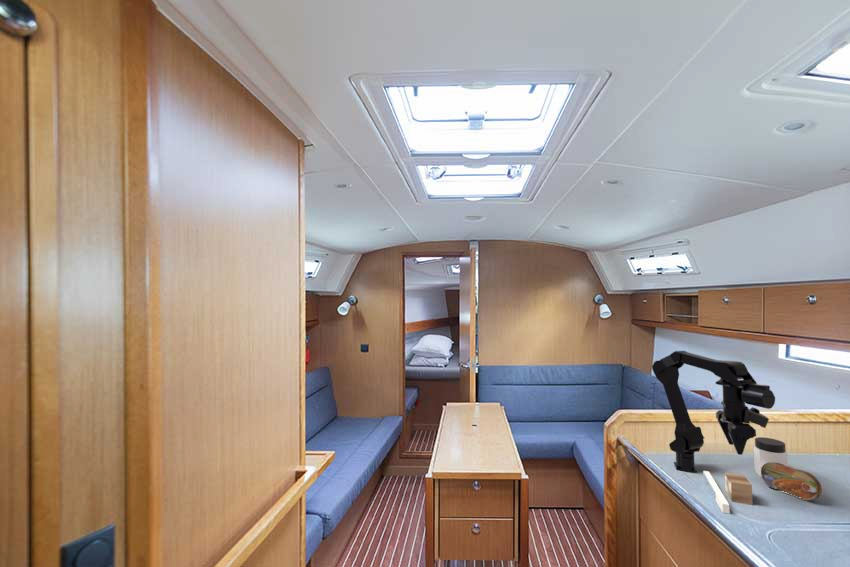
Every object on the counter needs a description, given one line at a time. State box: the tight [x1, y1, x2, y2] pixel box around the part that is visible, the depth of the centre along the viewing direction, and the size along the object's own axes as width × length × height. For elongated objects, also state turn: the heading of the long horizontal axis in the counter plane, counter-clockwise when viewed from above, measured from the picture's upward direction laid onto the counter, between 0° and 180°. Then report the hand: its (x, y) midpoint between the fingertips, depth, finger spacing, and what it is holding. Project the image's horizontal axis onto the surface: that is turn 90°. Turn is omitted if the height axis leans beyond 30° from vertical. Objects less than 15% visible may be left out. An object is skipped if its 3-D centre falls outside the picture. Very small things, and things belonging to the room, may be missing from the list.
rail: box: [702, 470, 731, 514], centre depth 127 cm, size 24×2×2 cm, turn 156°
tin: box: [761, 463, 823, 502], centre depth 127 cm, size 15×3×8 cm, turn 21°
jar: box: [753, 436, 789, 478], centre depth 140 cm, size 9×8×12 cm
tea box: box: [724, 472, 754, 506], centre depth 125 cm, size 7×5×6 cm
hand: (735, 449), depth 130 cm, fingers open, 9 cm apart
